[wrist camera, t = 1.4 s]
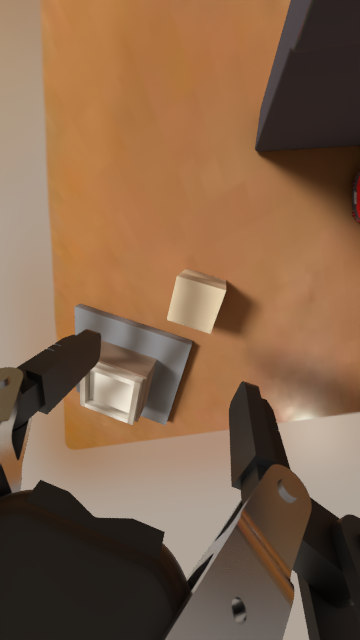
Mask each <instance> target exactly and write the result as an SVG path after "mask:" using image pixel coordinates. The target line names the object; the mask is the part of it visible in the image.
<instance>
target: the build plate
mask: <svg viewBox="0 0 360 640" xmlns="http://www.w3.org/2000/svg"><path fill="white" fill-rule="evenodd" d="M85 329H89V330H92V331H95V332H98V333H100V334H101V353H100V359H99V361H98V363H97V364H96V366H95V367H94V368H93V369H92V370H91V371H90V372H89V373H88V374H87V375H86V376H85V377H84V378H83V379H82V380H81V381H80V382H79V383H78V384H77V385H76V389H77V392H79V393H80V405H81V406H84V407H87V408H89V409H92V410H94V411H97V412H100V413H102V414H105V415H107V416H110V417H113V418H115V419H118V420H120V421H123V422H125V423H128V424H131V425H133V423H134V421H137V422H138V420H139V417H140V416H143V417H145V418H148V419H150V420H153V421H156V422H158V423H161V424H164V425H166V423H167V420H168V417H169V413H170V410H171V407H172V404H173V401H174V398H175V395H176V392H177V389H178V386H179V383H180V380H181V377H182V373H183V370H184V367H185V364H186V361H187V358H188V355H189V352H190V349H191V346H192V342H193V341H192V340H189V339H186V338H183V337H180V336H177V335H174V334H171V333H168V332H165V331H162V330H158V329H155V328H152V327H149V326H146V325H143V324H140V323H137V322H134V321H131V320H128V319H125V318H122V317H119V316H116V315H113V314H110V313H107V312H104V311H101V310H98V309H95V308H92V307H89V306H86V305H83V304H79V305H77V306H75V335H78V334H79V333H81V332H82V331H84V330H85Z"/></svg>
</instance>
